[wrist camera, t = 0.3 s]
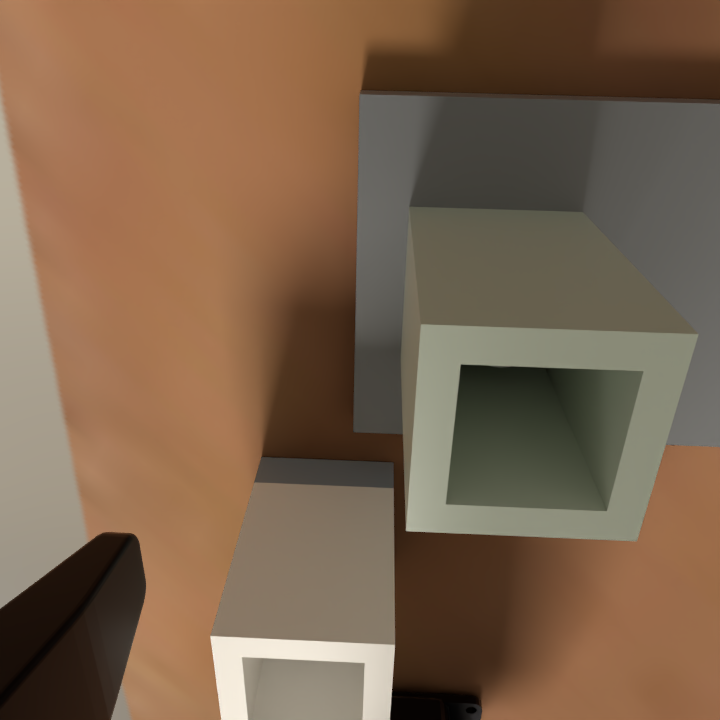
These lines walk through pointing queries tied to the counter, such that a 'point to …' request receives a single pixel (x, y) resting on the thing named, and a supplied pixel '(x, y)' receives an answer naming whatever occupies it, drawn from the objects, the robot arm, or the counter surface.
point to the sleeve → (310, 595)
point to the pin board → (536, 302)
